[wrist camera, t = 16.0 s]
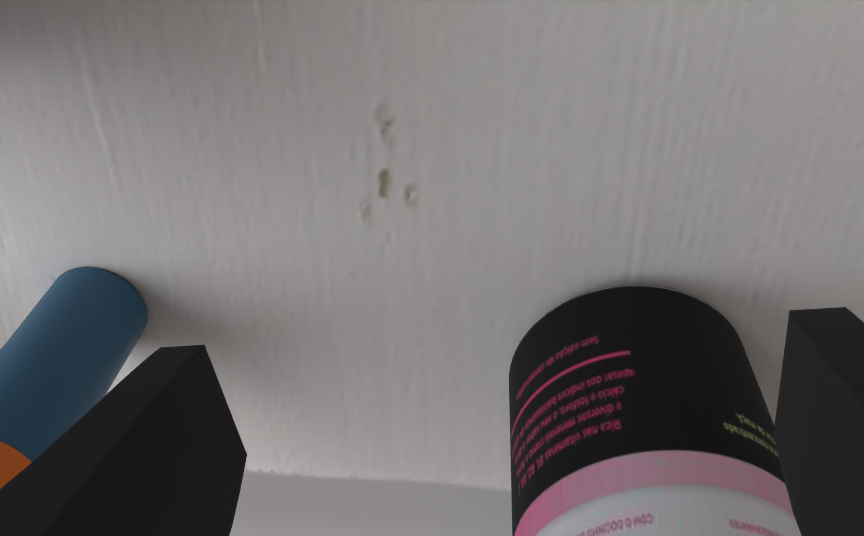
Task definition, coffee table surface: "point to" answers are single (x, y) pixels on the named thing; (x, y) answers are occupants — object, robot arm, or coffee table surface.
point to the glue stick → (63, 361)
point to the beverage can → (641, 423)
